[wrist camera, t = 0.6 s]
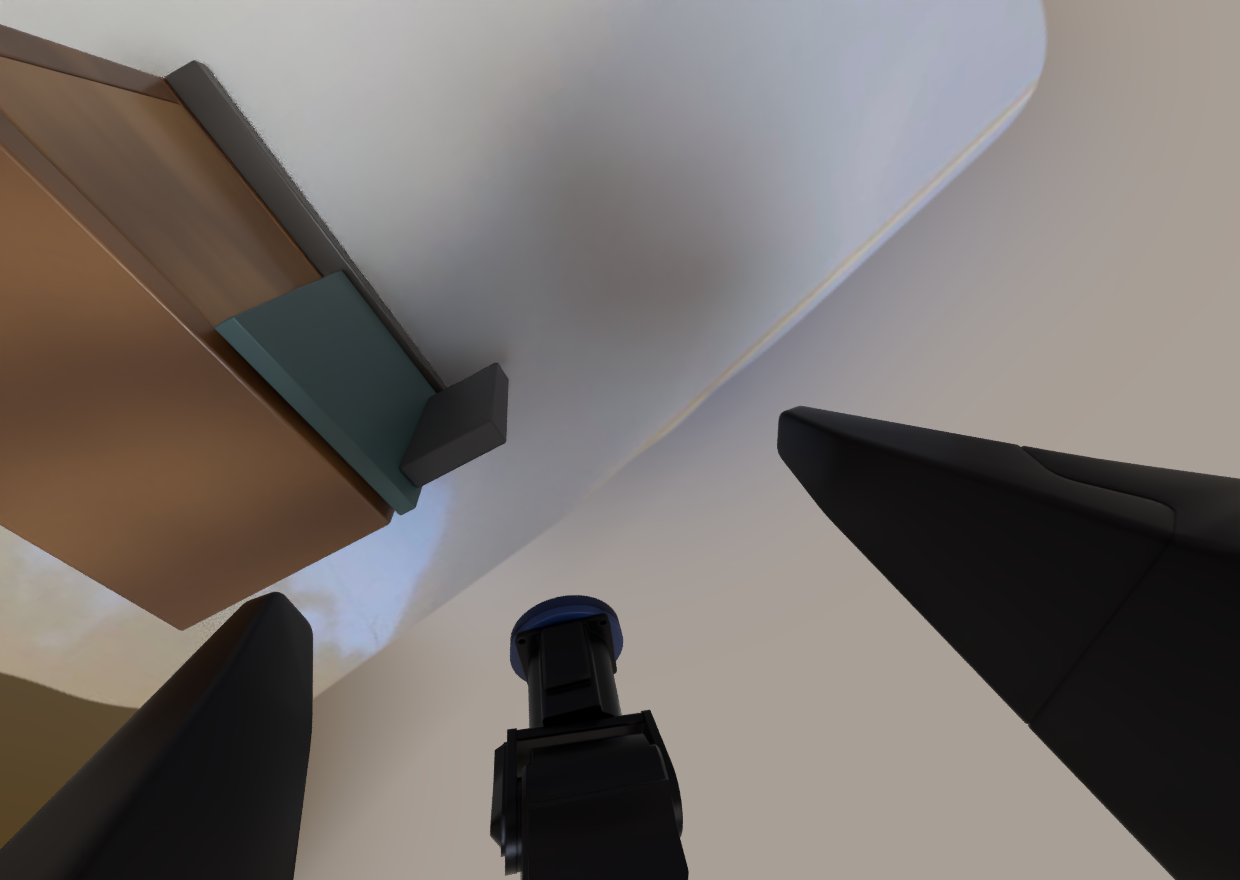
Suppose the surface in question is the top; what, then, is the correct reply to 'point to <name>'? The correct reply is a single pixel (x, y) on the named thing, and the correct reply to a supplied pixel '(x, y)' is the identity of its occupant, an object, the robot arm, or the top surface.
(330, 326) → the sliding door
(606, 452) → the top surface
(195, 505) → the cupboard
